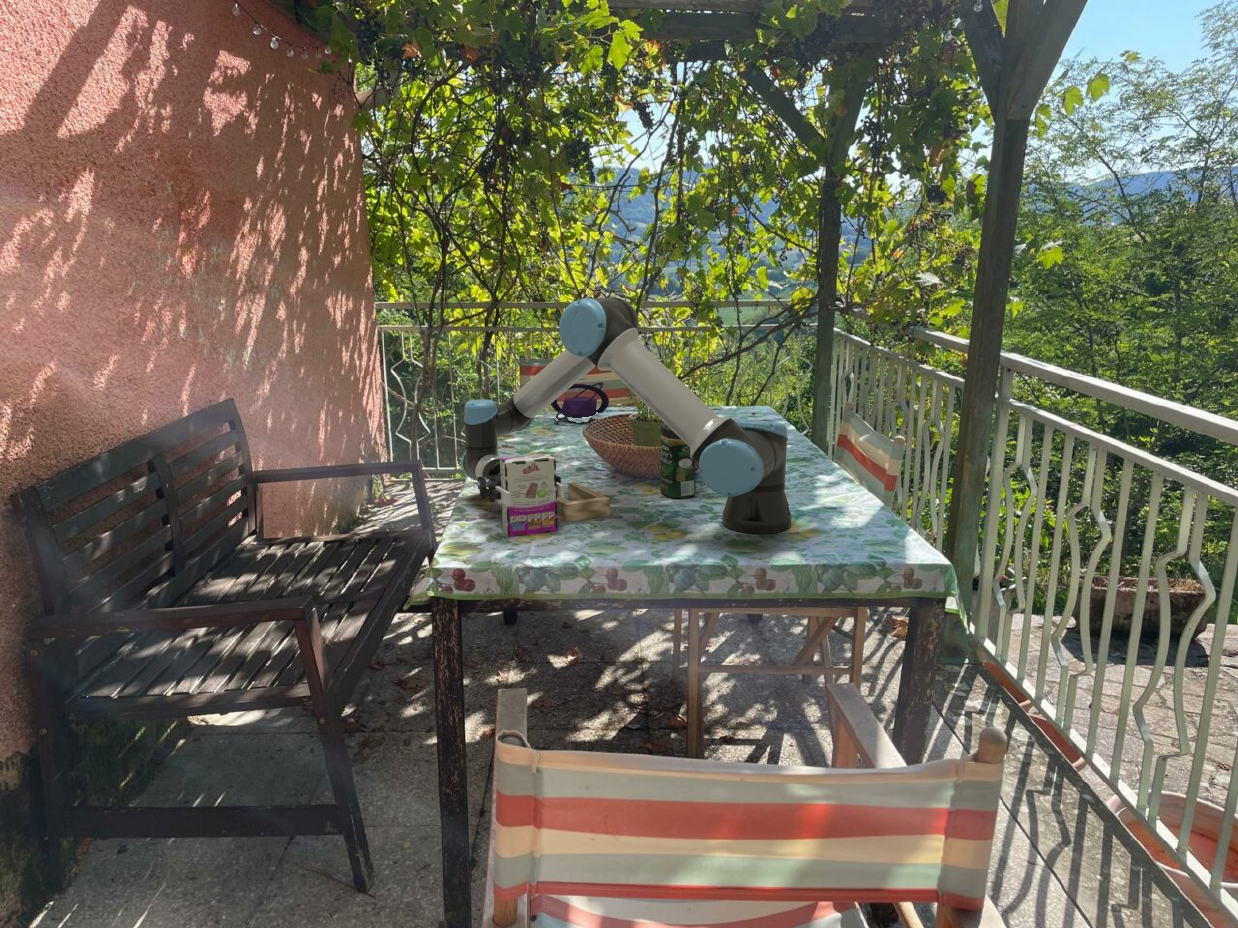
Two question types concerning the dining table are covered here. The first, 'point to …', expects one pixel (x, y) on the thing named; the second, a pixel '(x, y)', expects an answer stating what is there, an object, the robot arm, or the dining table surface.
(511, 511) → the candy bar box
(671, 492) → the coffee jar
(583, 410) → the purple handbag
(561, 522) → the mat
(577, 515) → the frame
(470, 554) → the dining table surface
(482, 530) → the dining table surface
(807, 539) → the dining table surface
